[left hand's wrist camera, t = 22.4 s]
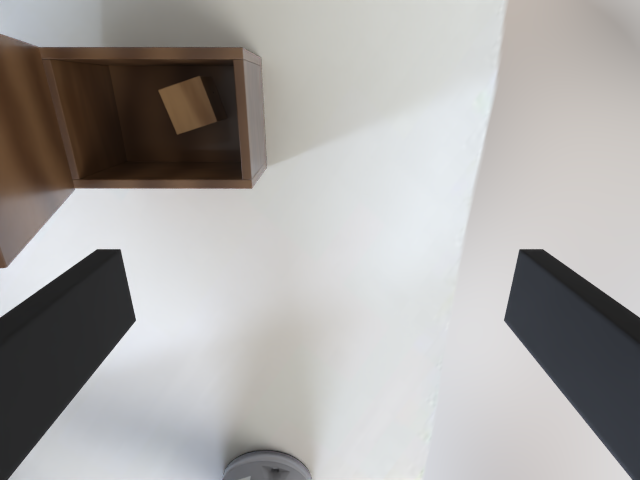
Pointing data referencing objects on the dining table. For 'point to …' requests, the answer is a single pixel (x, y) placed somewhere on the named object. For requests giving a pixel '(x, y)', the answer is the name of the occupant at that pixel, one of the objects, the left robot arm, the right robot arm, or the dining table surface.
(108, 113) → the chest
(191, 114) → the block
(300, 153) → the dining table surface
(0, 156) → the lid
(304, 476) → the left robot arm
